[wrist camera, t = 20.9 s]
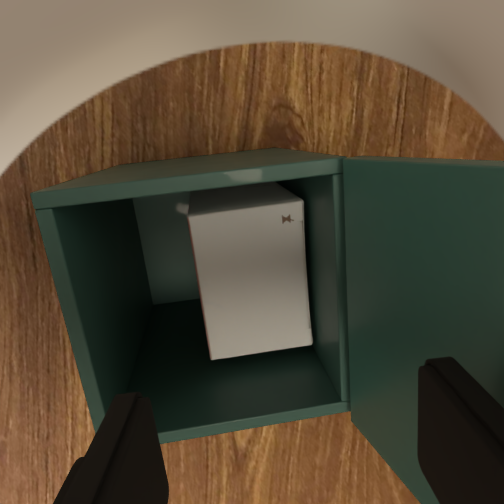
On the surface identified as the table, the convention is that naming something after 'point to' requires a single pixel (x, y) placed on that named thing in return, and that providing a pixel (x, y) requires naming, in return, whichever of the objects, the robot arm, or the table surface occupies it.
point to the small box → (250, 268)
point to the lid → (420, 290)
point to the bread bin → (191, 293)
